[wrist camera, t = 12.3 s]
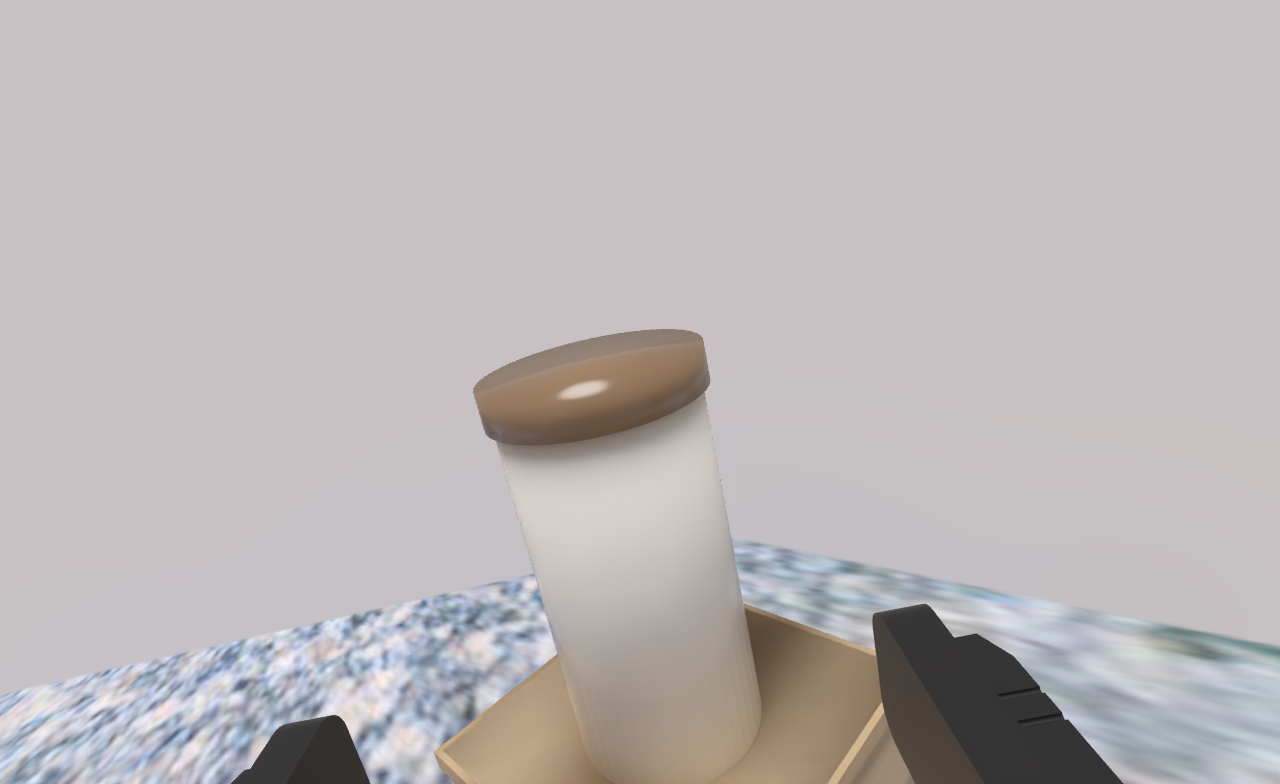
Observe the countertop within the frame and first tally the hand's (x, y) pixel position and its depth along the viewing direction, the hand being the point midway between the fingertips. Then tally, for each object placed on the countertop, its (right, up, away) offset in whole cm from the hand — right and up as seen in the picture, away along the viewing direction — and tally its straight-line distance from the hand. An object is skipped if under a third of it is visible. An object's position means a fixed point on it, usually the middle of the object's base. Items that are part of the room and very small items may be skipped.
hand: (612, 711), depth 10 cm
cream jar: (+1, -5, +10) cm, 11 cm away
